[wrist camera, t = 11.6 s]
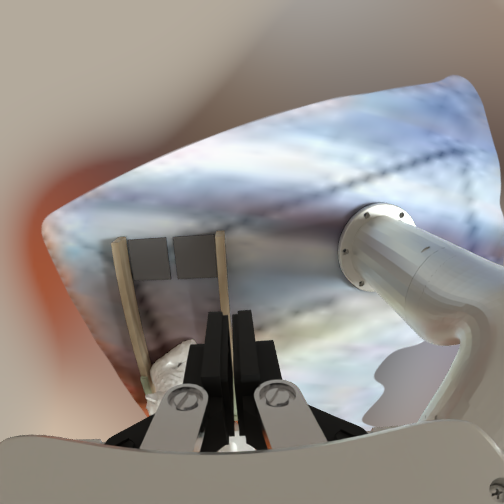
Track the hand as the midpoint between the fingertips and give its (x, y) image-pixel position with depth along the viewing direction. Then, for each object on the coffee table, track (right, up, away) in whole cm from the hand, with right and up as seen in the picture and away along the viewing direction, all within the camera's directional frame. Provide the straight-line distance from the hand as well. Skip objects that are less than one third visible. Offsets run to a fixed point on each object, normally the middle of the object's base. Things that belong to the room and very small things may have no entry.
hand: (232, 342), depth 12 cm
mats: (-10, +3, +27) cm, 29 cm away
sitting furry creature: (-10, -14, +32) cm, 37 cm away
